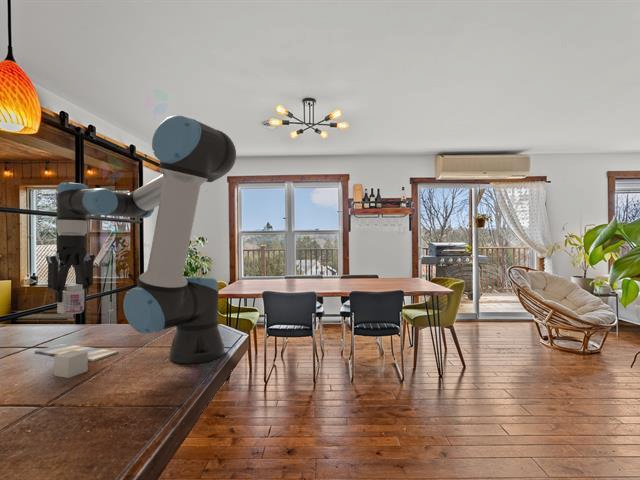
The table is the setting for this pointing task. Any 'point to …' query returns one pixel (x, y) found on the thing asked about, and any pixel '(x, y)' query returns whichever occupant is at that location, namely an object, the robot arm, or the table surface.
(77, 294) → the pill bottle
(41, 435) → the table surface
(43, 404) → the table surface
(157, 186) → the robot arm
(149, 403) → the table surface
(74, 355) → the blank white cube
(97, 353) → the track
